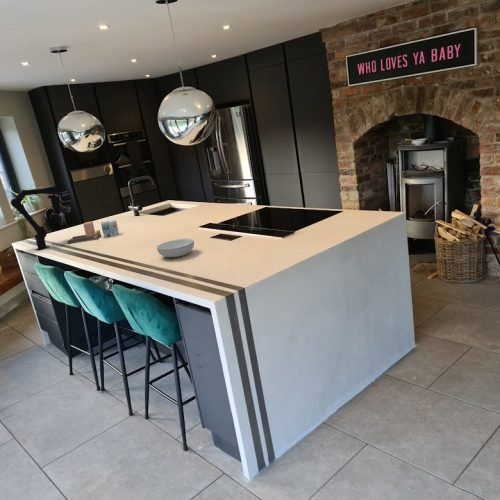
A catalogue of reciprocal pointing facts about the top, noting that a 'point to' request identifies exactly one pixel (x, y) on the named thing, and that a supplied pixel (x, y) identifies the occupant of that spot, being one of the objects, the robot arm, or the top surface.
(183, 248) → the serving bowl
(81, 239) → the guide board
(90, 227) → the marker sleeve
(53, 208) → the robot arm
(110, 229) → the light bulb box
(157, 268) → the top surface
